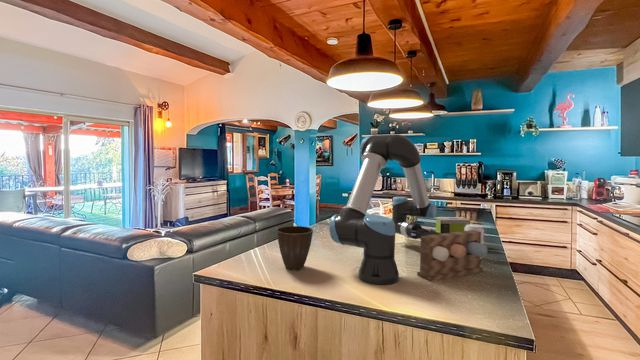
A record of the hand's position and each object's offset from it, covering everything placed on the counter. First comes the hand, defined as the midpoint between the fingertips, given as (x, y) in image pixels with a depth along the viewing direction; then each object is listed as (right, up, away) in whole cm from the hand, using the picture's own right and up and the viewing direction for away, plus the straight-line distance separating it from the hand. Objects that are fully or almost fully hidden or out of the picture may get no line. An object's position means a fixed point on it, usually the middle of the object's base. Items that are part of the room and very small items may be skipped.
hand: (448, 240), depth 145 cm
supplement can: (+15, -10, +10) cm, 21 cm away
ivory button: (-12, -3, -17) cm, 21 cm away
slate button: (+6, -3, -11) cm, 13 cm away
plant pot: (-66, -10, -7) cm, 67 cm away
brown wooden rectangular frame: (-4, -11, -12) cm, 17 cm away
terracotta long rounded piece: (-4, -3, -13) cm, 14 cm away
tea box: (+14, -9, +31) cm, 35 cm away
